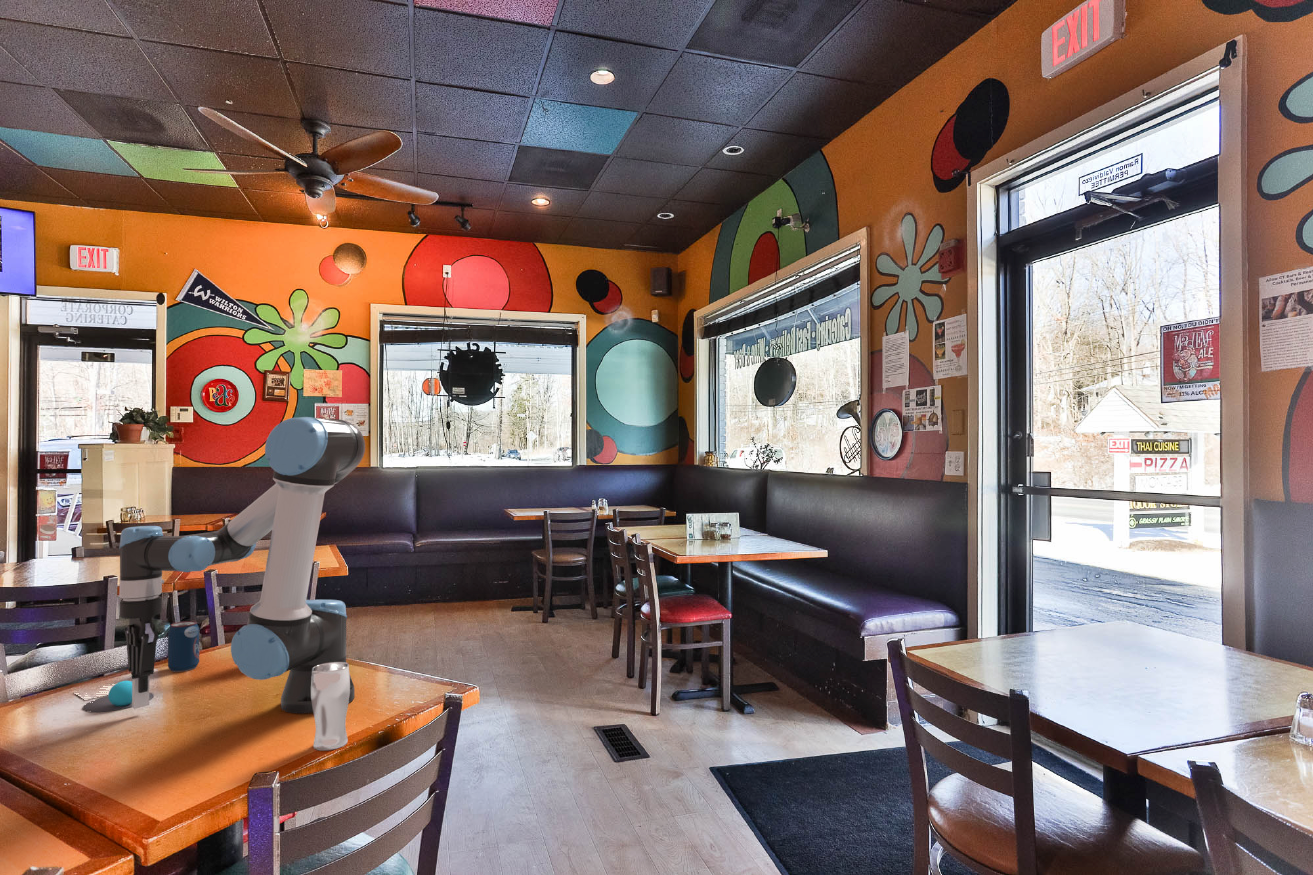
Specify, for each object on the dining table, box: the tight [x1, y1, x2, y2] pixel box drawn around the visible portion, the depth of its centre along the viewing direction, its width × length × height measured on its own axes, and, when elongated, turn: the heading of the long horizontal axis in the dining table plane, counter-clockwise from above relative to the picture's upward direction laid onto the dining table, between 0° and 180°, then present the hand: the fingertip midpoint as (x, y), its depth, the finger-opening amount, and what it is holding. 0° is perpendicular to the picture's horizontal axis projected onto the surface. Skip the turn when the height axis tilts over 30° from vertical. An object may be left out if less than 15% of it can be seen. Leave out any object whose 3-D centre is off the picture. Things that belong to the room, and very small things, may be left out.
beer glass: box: [311, 662, 351, 752], centre depth 139 cm, size 7×7×15 cm
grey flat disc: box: [82, 691, 155, 713], centre depth 164 cm, size 13×13×1 cm
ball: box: [108, 680, 132, 706], centre depth 162 cm, size 6×6×6 cm
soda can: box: [167, 620, 200, 673], centre depth 190 cm, size 7×7×12 cm
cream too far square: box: [73, 683, 115, 701], centre depth 171 cm, size 9×9×1 cm
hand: (140, 706), depth 156 cm, fingers closed
